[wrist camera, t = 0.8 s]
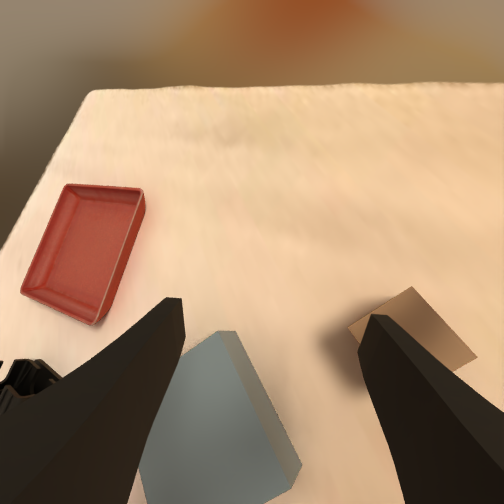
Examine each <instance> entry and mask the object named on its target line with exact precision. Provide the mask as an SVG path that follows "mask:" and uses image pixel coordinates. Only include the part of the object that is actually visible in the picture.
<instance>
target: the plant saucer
mask: <svg viewBox="0 0 504 504" xmlns="http://www.w3.org/2000/svg"><path fill="white" fill-rule="evenodd" d="M144 214H145V198H144V193H143V190H142V189H140V188H129V187H116V186H100V185H84V184H66V185H65V186H64V188H63V190H62V192H61V194H60V197H59V199H58V202H57V204H56V206H55V208H54V211H53V213H52V215H51V218H50V220H49V222H48V225H47V227H46V230H45V232H44V234H43V237H42V239H41V241H40V244H39V246H38V248H37V250H36V253H35V255H34V258H33V260H32V262H31V265H30V267H29V269H28V272H27V274H26V276H25V279H24V281H23V283H22V286H21V290H20V293H21V294H22V295H24V296H27V297H29V298H31V299H33V300H35V301H38V302H40V303H42V304H44V305H46V306H49V307H51V308H53V309H55V310H57V311H60V312H62V313H64V314H66V315H68V316H70V317H73V318H75V319H77V320H79V321H81V322H83V323H86V324H88V325H94V324H95V323H97V322H98V321H99V320H100V319H101V318H102V317H103V316H104V315H105V314H106V313H107V311H108V310H109V309H110V307H111V306H112V303H113V300H114V297H115V295H116V292H117V289H118V286H119V283H120V281H121V278H122V275H123V272H124V269H125V267H126V264H127V261H128V258H129V256H130V253H131V250H132V247H133V244H134V242H135V239H136V236H137V233H138V231H139V228H140V225H141V222H142V220H143V217H144Z"/></svg>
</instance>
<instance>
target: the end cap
mask: <svg viewBox="0 0 504 504" xmlns="http://www.w3.org/2000/svg"><path fill="white" fill-rule="evenodd" d="M2 364H3V361H0V368H1V366H2ZM60 379H62V377H61V376H60V375H59V374H58V373H56V372H55V371H54V370H53V369H52V368H51V367H50V366H48V365H47V364H46V363H45V362H44V361H43V360H42V359H36V360H35V361H34V362H33V361H32V360H30V359H16V360H14V362H13V364H12V366H11V368H10V370H9V372H8V374H7V376H6V378H5V379H4V380H3V381H1V382H0V415H1V414H3V413H5V412H7V411H9V410H10V409H12V408H14V407H16V406H17V405H19V404H21V403H22V402H24V401H26V400H27V399H29V398H31V397H32V396H34V395H36V394H37V393H39V392H41V391H42V390H44V389H46V388H47V387H49V386H51V385H52V384H54V383H56V382H57V381H59V380H60Z"/></svg>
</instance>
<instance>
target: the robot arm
mask: <svg viewBox="0 0 504 504" xmlns="http://www.w3.org/2000/svg"><path fill="white" fill-rule="evenodd" d="M185 337H186V336H185V326H184V317H183V307H182V298H169V297H166V298H165V299H163V300H162V301H161V302H160V303H159V304H157V305H156V306H155V307H154V308H153V309H152V310H151V311H149V312H148V313H147V314H146V315H145V316H144V317H143V318H141V319H140V320H139V321H138V322H137V323H136V324H134V325H133V326H132V327H131V328H130V329H128V330H127V331H126V332H125V333H124V334H122V335H121V336H120V337H119V338H117V339H116V340H115V341H114V342H112V343H111V344H110V345H108V346H107V347H106V348H104V349H103V350H102V351H101V352H99V353H98V354H97V355H95V356H94V357H93V358H91V359H90V360H88V361H87V362H86V363H84V364H83V365H81V366H80V367H78V368H77V369H75V370H74V371H72V372H71V373H69V374H68V375H66V376H65V377H63V378H62V379H60V380H59V381H57V382H56V383H54V384H52V385H51V386H49V387H47V388H46V389H44V390H42V391H41V392H39V393H37V394H36V395H34V396H32V397H31V398H29V399H27V400H26V401H24V402H22V403H21V404H19V405H17V406H16V407H14V408H12V409H10V410H9V411H7V412H5V413H3V414H1V415H0V504H127V502H128V499H129V496H130V492H131V489H132V486H133V483H134V479H135V476H136V473H137V469H138V466H139V463H140V460H141V457H142V454H143V451H144V448H145V445H146V441H147V438H148V436H149V433H150V430H151V428H152V425H153V422H154V420H155V418H156V415H157V413H158V410H159V408H160V406H161V403H162V401H163V398H164V396H165V394H166V391H167V389H168V386H169V384H170V382H171V379H172V377H173V374H174V372H175V370H176V367H177V365H178V362H179V359H180V355H181V352H182V348H183V345H184V341H185ZM358 356H359V361H360V365H361V369H362V373H363V377H364V381H365V384H366V386H367V389H368V392H369V395H370V397H371V400H372V403H373V406H374V408H375V411H376V414H377V416H378V419H379V422H380V424H381V427H382V430H383V432H384V435H385V438H386V441H387V443H388V446H389V449H390V452H391V455H392V458H393V461H394V464H395V468H396V472H397V475H398V479H399V483H400V486H401V490H402V493H403V497H404V501H405V504H504V412H502V411H501V410H499V409H498V408H497V407H495V406H494V405H493V404H491V403H490V402H489V401H488V400H486V399H485V398H484V397H482V396H481V395H480V394H478V393H477V392H476V391H475V390H474V389H472V388H471V387H470V386H469V385H467V384H466V383H465V382H464V381H462V380H461V379H460V378H459V377H458V376H456V375H455V374H454V373H453V372H452V371H450V370H449V369H448V368H447V367H446V366H445V365H443V364H442V363H441V362H440V361H439V360H438V359H436V358H435V357H434V356H433V355H432V354H431V353H430V352H429V351H427V350H426V349H425V348H424V347H423V346H422V345H421V344H420V343H418V342H417V341H416V340H415V339H414V338H413V337H412V336H411V335H410V334H409V333H407V332H406V331H405V330H404V329H403V328H402V327H401V326H400V325H399V324H397V323H396V322H395V321H394V320H393V319H392V318H390V317H389V316H388V315H381V314H371V315H370V318H369V321H368V323H367V326H366V329H365V332H364V335H363V338H362V341H361V343H360V346H359V349H358Z"/></svg>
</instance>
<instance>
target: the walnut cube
mask: <svg viewBox="0 0 504 504" xmlns="http://www.w3.org/2000/svg"><path fill="white" fill-rule="evenodd" d="M371 314H381V315H388V316H389V317H390V318H392V319H393V320H394V321H395V322H396V323H397V324H399V325H400V326H401V327H402V328H403V329H404V330H405V331H406V332H407V333H409V334H410V335H411V336H412V337H413V338H414V339H415V340H416V341H417V342H418V343H420V344H421V345H422V346H423V347H424V348H425V349H426V350H427V351H429V352H430V353H431V354H432V355H433V356H434V357H435V358H436V359H438V360H439V361H440V362H441V363H442V364H443V365H445V366H446V367H447V368H448V369H449V370H450V371H452V372H453V371H455V370H456V369H458V368H460V367H462V366H463V365H465V364H467V363H469V362H471V361H472V360H474V359H476V358H478V357H477V356H476V355H475V354H474V353H473V352H472V351H471V350H470V348H469V347H468V346H467V345H466V344H465V343H464V342H463V341H462V340H461V339H460V338H459V337H458V336H457V334H456V333H455V332H454V331H453V330H452V329H451V328H450V327H449V326H448V325H447V324H446V323H445V321H444V320H443V319H442V318H441V317H440V316H439V315H438V314H437V313H436V312H435V311H434V310H433V309H432V307H431V306H430V305H429V304H428V303H427V302H426V301H425V300H424V299H423V298H422V297H421V296H420V294H419V293H418V292H417V291H416V290H415V289H414V288H413V287H412V286H411V287H410V288H408V289H407V290H405V291H404V292H402V293H400V294H399V295H397V296H396V297H394V298H393V299H391V300H389V301H388V302H386V303H385V304H383V305H382V306H380V307H379V308H377V309H375V310H374V311H372V312H371V313H369V314H368V315H366V316H364V317H363V318H361V319H360V320H358V321H357V322H355V323H354V324H352V325H350V326H349V327H348V329H349V330H350V331H351V333H352V334H353V336H354V337H355V338H356V340H357V341H358V343H359V344H360V343H361V341H362V338H363V335H364V332H365V329H366V326H367V323H368V321H369V318H370V315H371Z"/></svg>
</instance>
